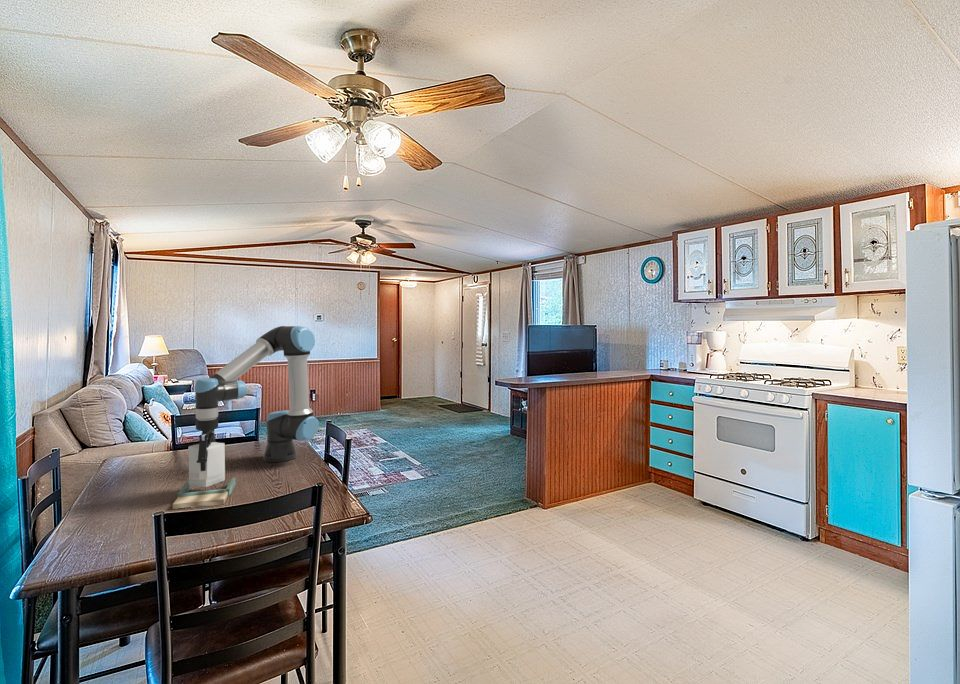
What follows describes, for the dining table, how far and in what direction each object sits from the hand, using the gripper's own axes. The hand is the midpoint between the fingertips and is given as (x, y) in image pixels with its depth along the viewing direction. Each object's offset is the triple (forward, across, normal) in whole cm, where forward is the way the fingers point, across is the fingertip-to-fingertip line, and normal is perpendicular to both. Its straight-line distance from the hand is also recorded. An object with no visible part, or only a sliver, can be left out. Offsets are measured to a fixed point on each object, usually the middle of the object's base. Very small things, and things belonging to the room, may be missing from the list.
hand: (207, 473), depth 181 cm
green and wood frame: (+7, +4, 0) cm, 8 cm away
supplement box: (+4, 0, 0) cm, 4 cm away
